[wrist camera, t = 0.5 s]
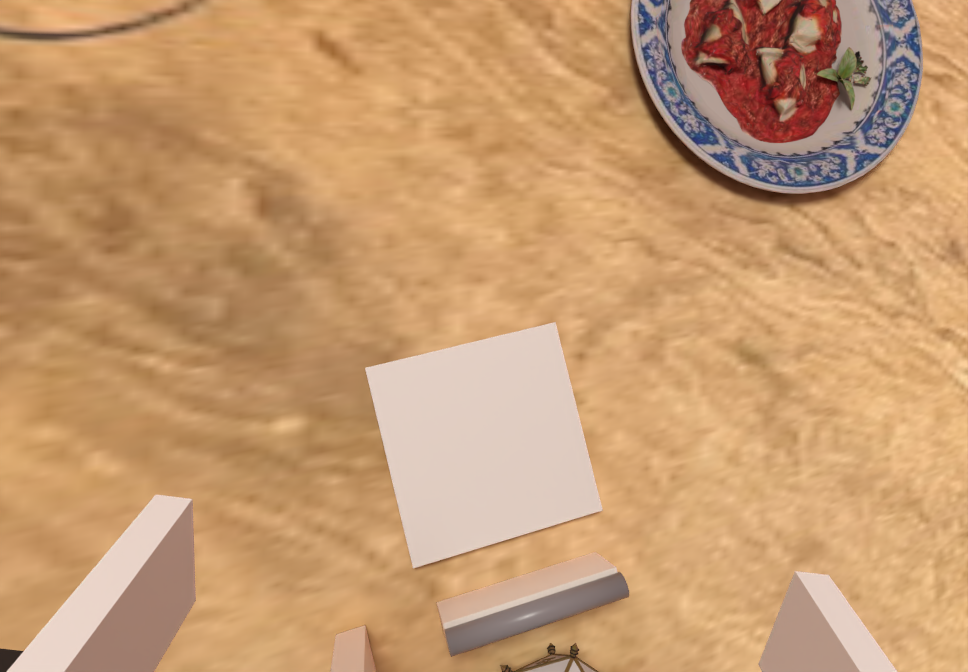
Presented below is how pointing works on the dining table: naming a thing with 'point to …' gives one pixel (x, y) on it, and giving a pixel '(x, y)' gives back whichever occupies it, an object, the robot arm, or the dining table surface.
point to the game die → (556, 663)
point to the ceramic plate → (782, 84)
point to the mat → (483, 442)
